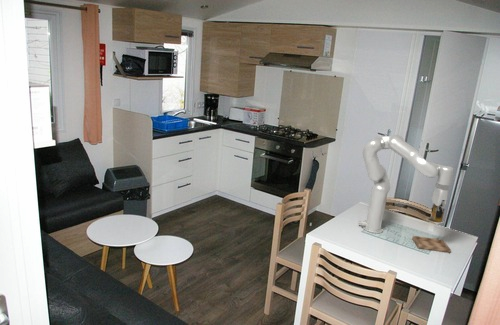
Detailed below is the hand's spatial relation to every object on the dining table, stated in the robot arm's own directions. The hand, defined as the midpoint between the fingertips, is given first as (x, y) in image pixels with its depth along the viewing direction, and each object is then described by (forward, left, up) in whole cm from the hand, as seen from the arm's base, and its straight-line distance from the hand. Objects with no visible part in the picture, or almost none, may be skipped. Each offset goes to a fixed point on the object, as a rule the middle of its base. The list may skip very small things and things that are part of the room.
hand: (436, 214), depth 235 cm
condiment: (0, 0, -4) cm, 4 cm away
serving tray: (0, -1, -20) cm, 20 cm away
